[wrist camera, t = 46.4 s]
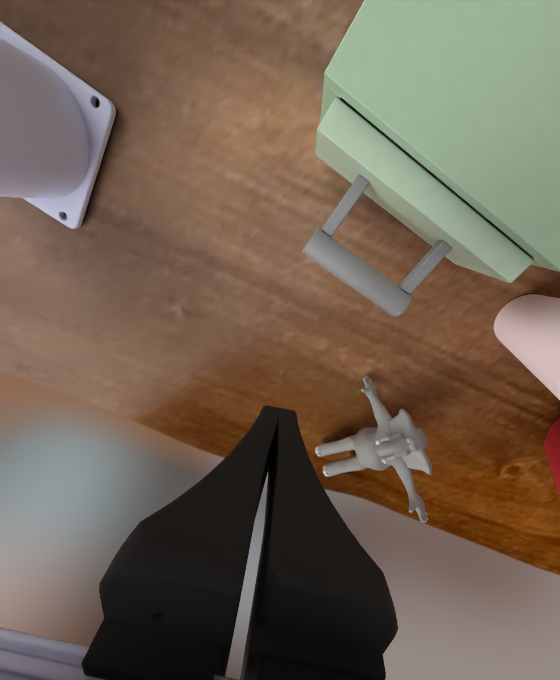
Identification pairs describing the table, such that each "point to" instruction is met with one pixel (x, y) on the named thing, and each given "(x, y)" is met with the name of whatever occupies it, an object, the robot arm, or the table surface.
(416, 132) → the sage green box
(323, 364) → the table surface
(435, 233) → the drawer
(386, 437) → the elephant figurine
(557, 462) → the apple
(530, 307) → the smoothie
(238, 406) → the table surface
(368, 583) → the robot arm
